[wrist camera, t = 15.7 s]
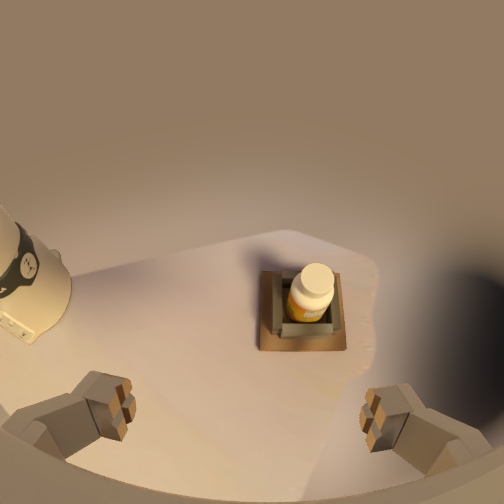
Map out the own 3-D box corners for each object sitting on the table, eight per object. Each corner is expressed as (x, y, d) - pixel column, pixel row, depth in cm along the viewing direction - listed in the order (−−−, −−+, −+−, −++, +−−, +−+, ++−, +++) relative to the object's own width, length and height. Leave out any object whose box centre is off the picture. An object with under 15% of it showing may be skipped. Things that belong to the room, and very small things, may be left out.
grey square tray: (259, 350, 38) (260, 343, 35) (261, 274, 45) (262, 260, 42) (344, 350, 38) (353, 342, 35) (337, 276, 45) (344, 263, 41)
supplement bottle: (282, 294, 42) (290, 259, 34) (318, 291, 42) (334, 255, 34) (287, 329, 39) (298, 301, 31) (325, 325, 39) (345, 296, 31)
